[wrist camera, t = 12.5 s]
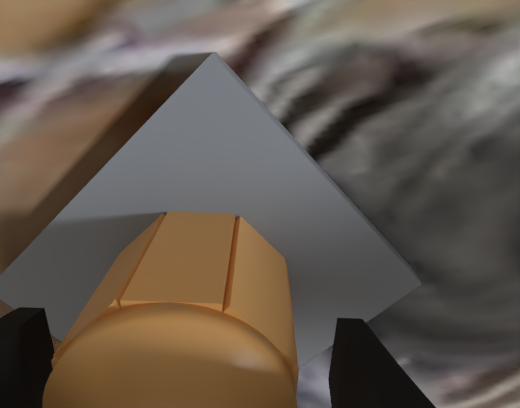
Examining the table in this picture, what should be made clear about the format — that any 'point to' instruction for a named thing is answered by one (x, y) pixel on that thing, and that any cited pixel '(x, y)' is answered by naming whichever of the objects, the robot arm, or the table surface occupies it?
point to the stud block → (217, 201)
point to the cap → (184, 324)
